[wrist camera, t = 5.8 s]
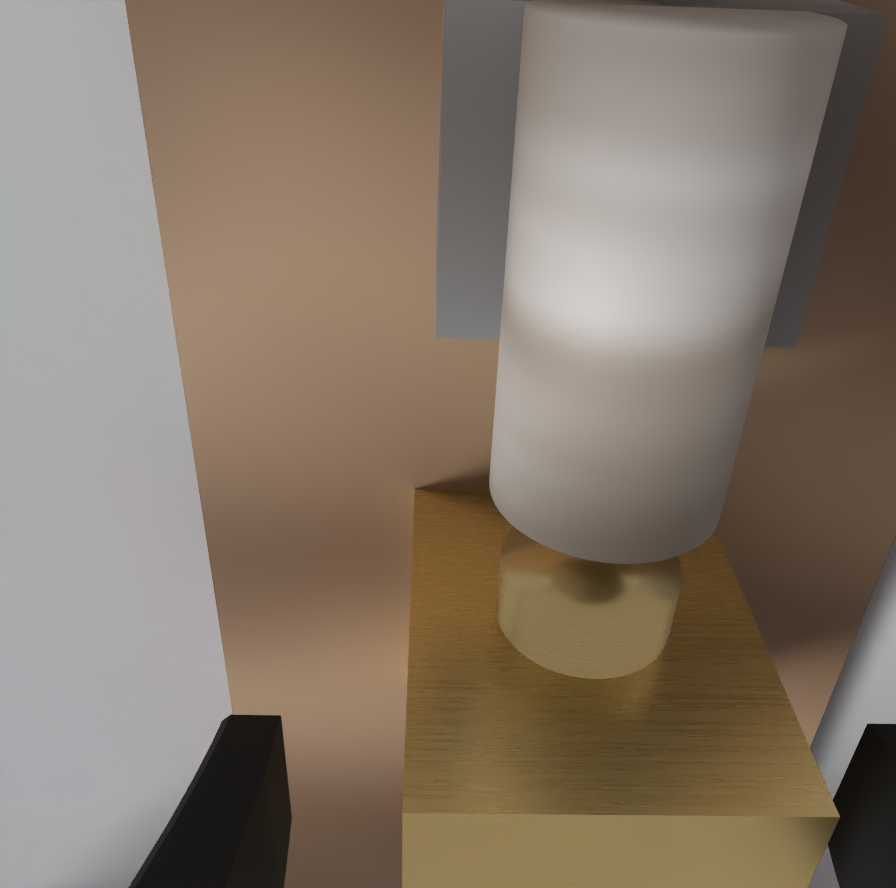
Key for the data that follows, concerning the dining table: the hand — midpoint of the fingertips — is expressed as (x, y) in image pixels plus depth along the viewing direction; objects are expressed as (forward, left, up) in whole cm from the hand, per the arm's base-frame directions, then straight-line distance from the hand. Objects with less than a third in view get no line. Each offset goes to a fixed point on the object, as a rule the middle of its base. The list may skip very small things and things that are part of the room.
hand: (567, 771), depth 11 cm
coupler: (0, 0, -3) cm, 3 cm away
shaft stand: (0, 0, -4) cm, 4 cm away
